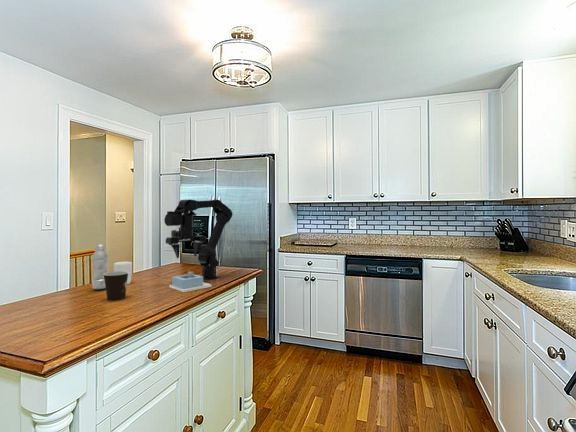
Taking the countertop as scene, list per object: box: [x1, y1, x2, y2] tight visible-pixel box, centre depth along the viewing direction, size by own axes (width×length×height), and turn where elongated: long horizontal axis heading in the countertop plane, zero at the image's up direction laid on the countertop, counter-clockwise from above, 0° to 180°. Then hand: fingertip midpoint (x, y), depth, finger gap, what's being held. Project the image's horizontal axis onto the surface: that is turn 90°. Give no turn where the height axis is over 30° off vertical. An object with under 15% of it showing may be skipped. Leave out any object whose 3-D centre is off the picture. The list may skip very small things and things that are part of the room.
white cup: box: [113, 261, 133, 285], centre depth 152 cm, size 8×8×10 cm
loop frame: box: [171, 273, 204, 289], centre depth 144 cm, size 10×10×4 cm
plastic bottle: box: [91, 243, 110, 291], centre depth 141 cm, size 6×7×20 cm
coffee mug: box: [104, 271, 128, 301], centre depth 128 cm, size 12×9×10 cm
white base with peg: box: [169, 270, 212, 293], centre depth 145 cm, size 14×13×7 cm
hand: (186, 257), depth 154 cm, fingers open, 9 cm apart
